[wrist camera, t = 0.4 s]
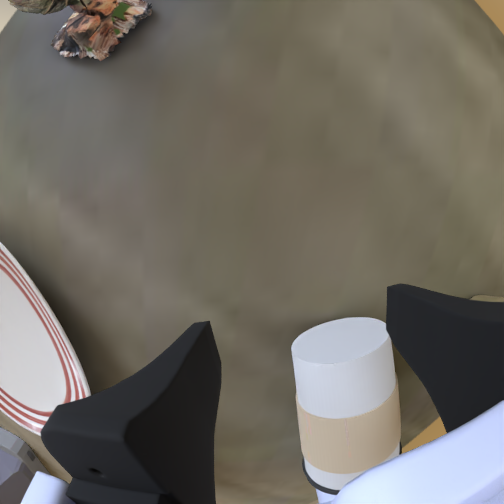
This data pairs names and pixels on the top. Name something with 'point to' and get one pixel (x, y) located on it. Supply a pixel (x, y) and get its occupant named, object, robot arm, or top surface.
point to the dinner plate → (33, 352)
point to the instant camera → (16, 468)
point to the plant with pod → (90, 23)
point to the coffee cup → (346, 400)
